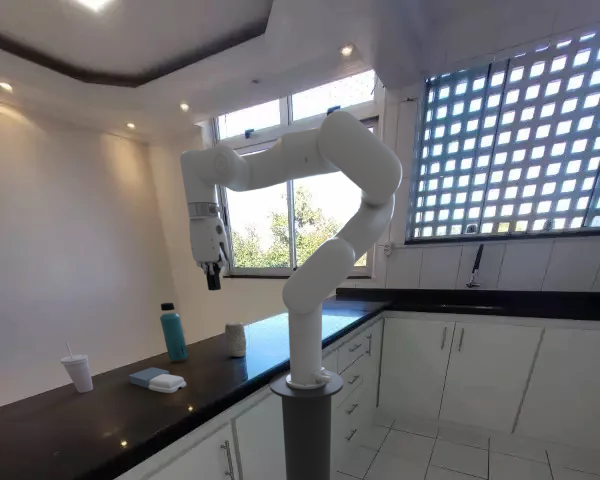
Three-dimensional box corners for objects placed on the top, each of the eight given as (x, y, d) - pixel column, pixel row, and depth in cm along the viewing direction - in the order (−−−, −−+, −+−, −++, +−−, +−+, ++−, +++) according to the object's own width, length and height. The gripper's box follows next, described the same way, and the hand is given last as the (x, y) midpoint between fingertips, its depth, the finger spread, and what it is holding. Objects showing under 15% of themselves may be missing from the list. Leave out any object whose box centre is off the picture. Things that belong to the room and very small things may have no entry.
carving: (251, 354, 115) (247, 321, 109) (237, 360, 109) (233, 326, 104) (238, 352, 118) (234, 320, 112) (224, 357, 112) (219, 324, 107)
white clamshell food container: (147, 389, 88) (144, 379, 87) (165, 380, 94) (163, 371, 92) (171, 393, 85) (168, 384, 83) (188, 384, 90) (186, 375, 89)
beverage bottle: (185, 364, 107) (173, 304, 98) (166, 364, 107) (152, 304, 98) (191, 358, 112) (180, 301, 104) (173, 358, 113) (160, 301, 104)
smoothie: (66, 394, 86) (47, 345, 80) (84, 385, 92) (67, 338, 86) (87, 395, 85) (69, 345, 79) (103, 385, 91) (88, 339, 85)
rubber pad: (170, 378, 95) (168, 371, 94) (147, 388, 89) (145, 380, 88) (154, 374, 99) (152, 366, 97) (130, 383, 92) (128, 375, 91)
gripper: (235, 211, 77) (243, 289, 85) (196, 216, 85) (207, 287, 93) (212, 209, 71) (223, 293, 79) (173, 214, 79) (186, 290, 87)
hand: (214, 289), depth 86 cm, fingers closed
